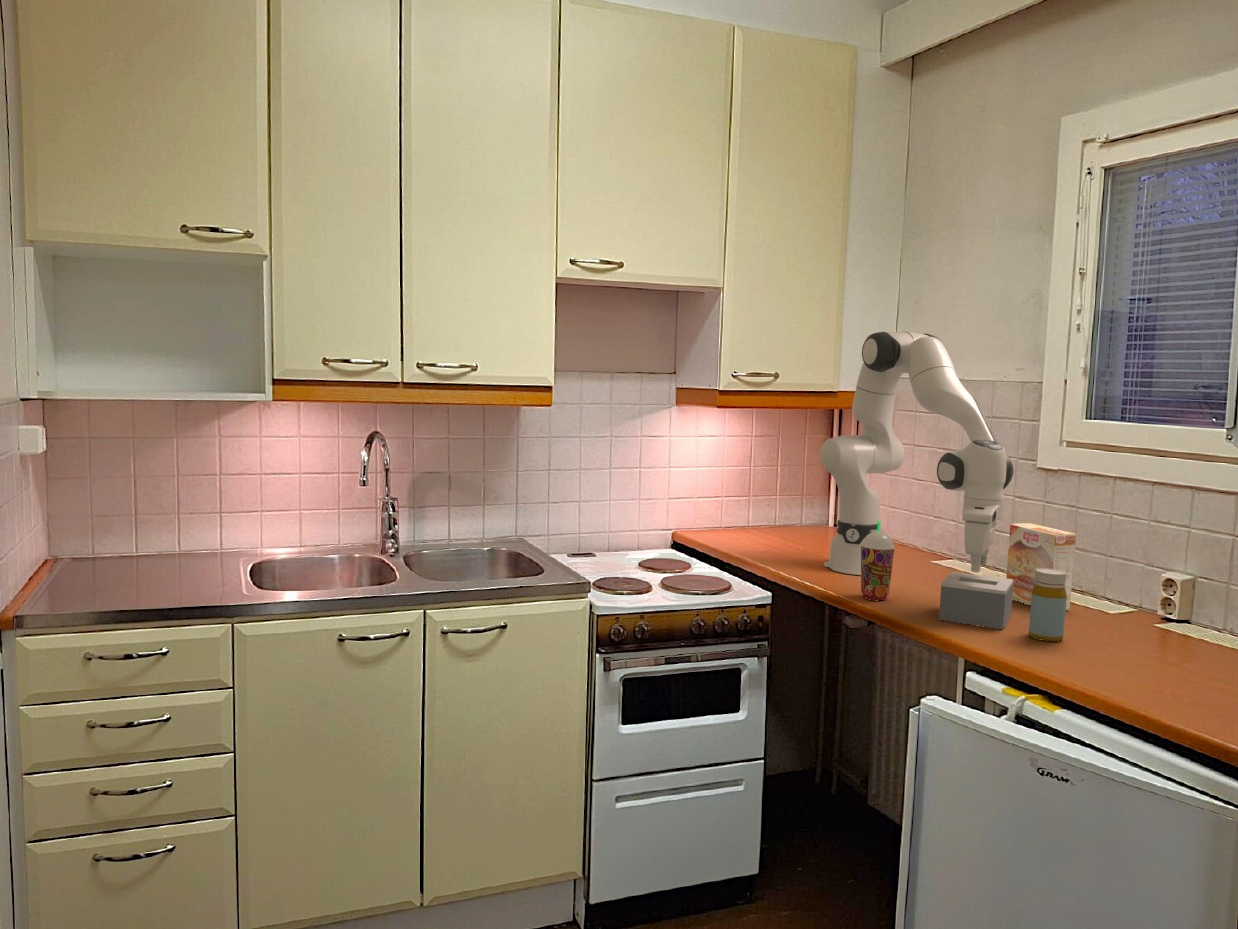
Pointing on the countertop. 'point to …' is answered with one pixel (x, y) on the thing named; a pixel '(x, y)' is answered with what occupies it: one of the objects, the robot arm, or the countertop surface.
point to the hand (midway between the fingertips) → (978, 568)
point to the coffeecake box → (1038, 557)
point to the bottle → (1048, 605)
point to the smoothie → (876, 565)
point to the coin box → (976, 600)
